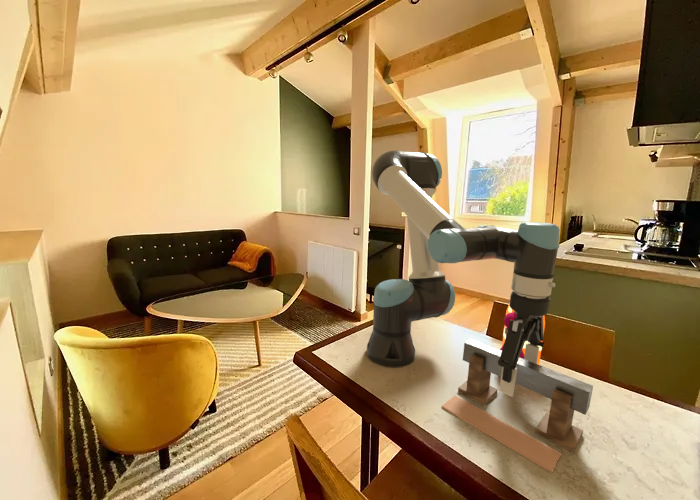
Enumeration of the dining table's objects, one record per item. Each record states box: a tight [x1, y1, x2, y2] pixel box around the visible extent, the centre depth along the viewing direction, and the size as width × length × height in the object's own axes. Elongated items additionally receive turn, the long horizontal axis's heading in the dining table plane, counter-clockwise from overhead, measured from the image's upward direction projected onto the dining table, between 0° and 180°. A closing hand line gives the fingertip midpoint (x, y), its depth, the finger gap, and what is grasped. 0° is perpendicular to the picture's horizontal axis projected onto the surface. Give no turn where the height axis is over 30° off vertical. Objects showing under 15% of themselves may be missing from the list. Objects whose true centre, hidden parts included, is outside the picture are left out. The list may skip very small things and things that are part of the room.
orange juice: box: [501, 302, 546, 365], centre depth 93 cm, size 8×9×20 cm
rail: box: [462, 338, 594, 415], centre depth 71 cm, size 26×3×5 cm, turn 42°
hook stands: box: [457, 354, 584, 454], centre depth 72 cm, size 25×7×11 cm, turn 42°
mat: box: [441, 395, 562, 474], centre depth 67 cm, size 23×6×1 cm, turn 42°
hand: (518, 380), depth 71 cm, fingers open, 13 cm apart
